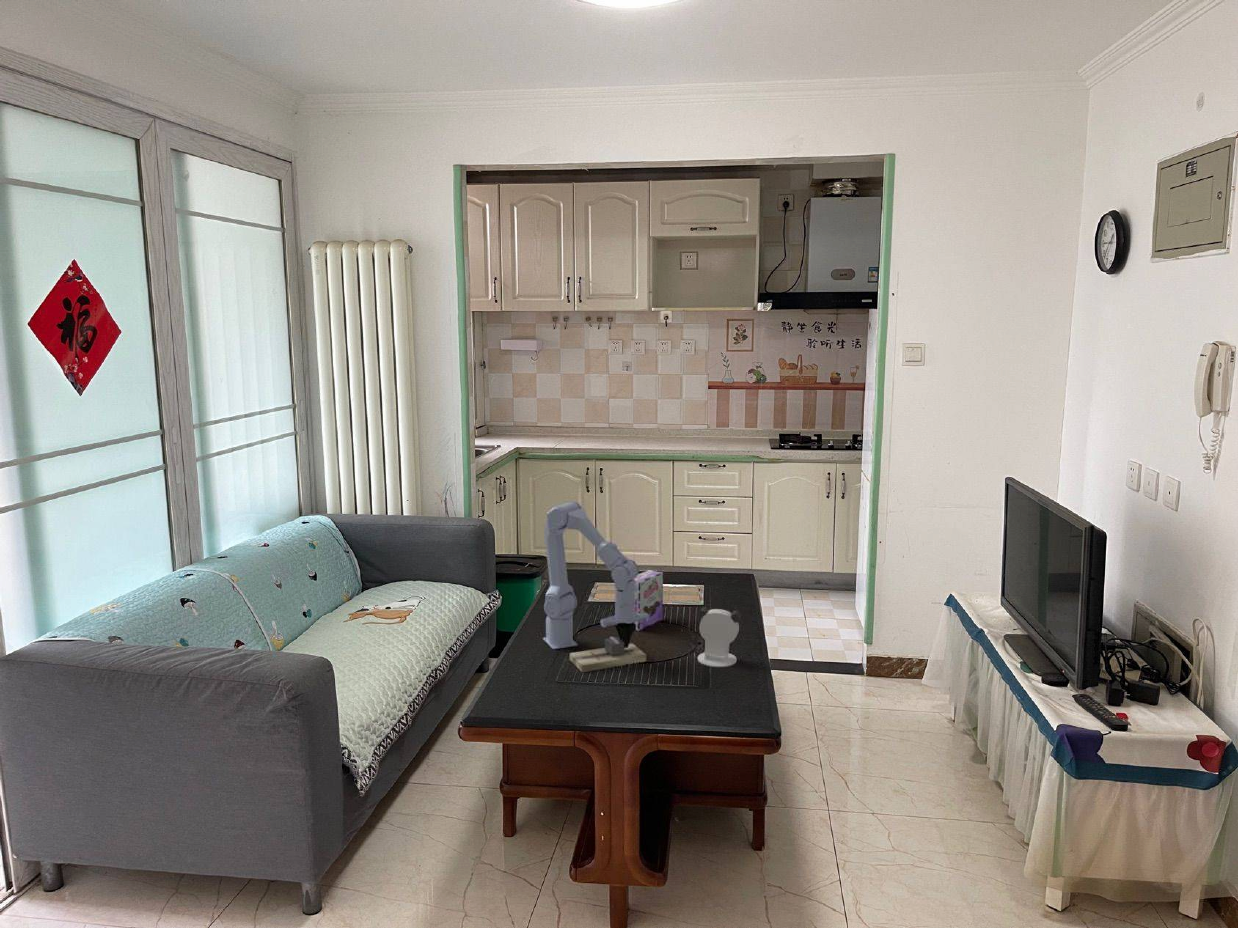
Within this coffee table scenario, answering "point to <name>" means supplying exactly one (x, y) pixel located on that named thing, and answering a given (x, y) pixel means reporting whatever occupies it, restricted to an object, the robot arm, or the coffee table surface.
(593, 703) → the coffee table surface
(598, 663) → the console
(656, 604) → the candy box
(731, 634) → the panda figurine
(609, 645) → the fader tab
